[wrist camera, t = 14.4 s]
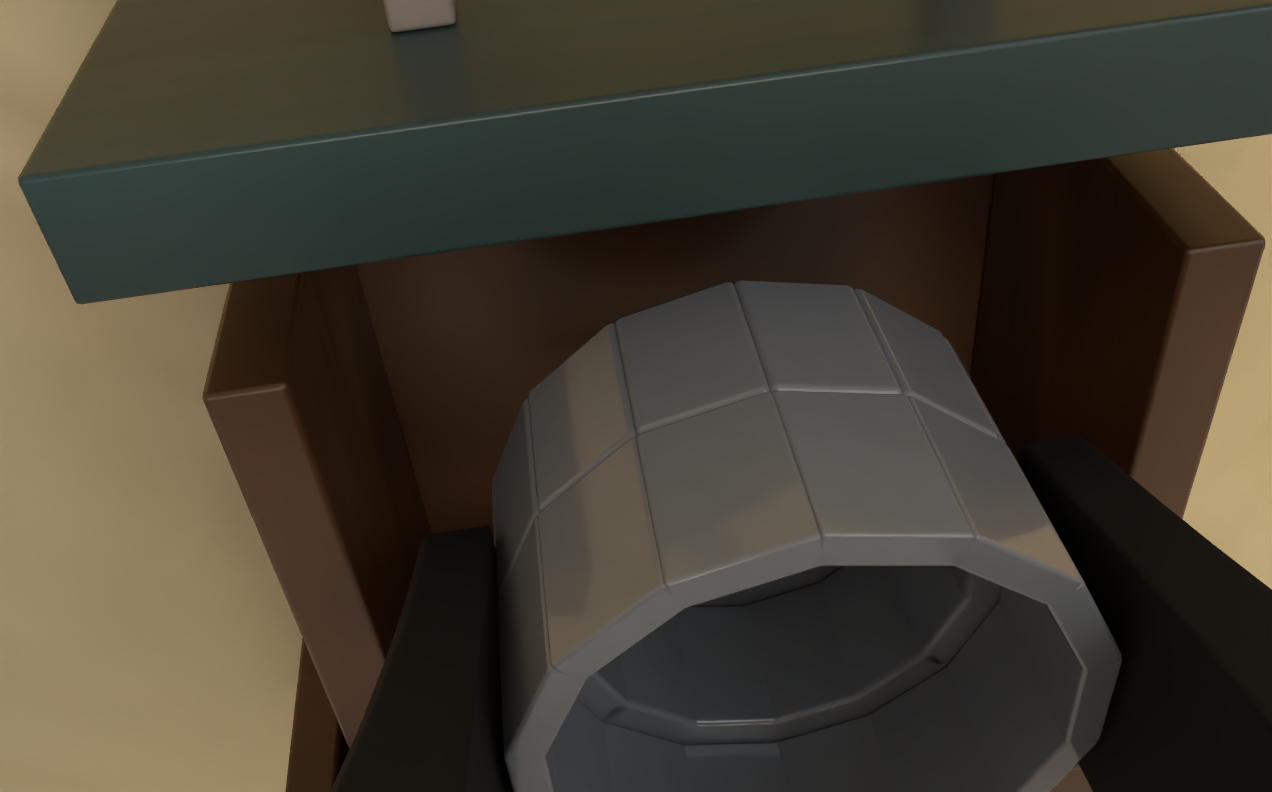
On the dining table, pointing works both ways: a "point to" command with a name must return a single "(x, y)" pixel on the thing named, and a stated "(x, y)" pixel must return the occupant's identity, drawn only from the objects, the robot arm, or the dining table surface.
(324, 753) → the cabinet
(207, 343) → the dining table surface
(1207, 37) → the drawer
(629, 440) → the grey plastic pail
